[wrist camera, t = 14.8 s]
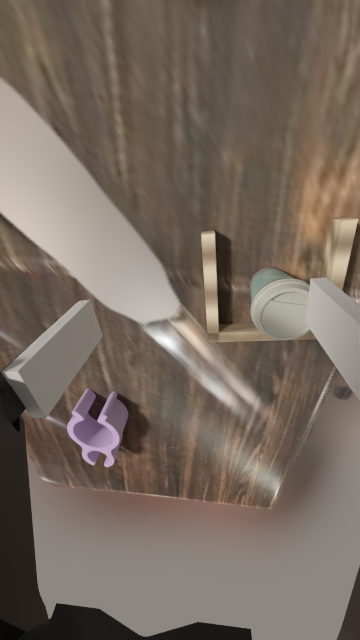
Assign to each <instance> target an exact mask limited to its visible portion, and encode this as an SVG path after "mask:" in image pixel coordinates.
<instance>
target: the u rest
mask: <svg viewBox="0 0 360 640" xmlns="http://www.w3.org/2000/svg"><path fill="white" fill-rule="evenodd" d="M357 222H358V219H354V218H349V217H341V218H331V223H330V229H329V234H328V240H327V246H326V252H325V257H324V263H323V269H322V275H321V278H325V277H326V278H327V279H328V280H330V281H331V282H332V283H333V284H334V285H336V286H337V287H338V288H339V289H341V290H342V289H343V285H344V280H345V276H346V272H347V267H348V263H349V258H350V254H351V249H352V245H353V240H354V236H355V231H356V227H357ZM201 238H202V254H203V269H204V285H205V300H206V316H207V331H208V342H239V341H271V340H277V339H273V338H271V337H269V336H267V335H265V334H264V333H262V332H261V331H260V330H259V329H258V328H257V327H256V326H255V324H254V323H231V324H219V323H218V298H217V272H216V246H215V230H211V231H202V233H201ZM304 339H316V337H315V336H314V334H313V333H312V331H311V330H309V331H308V332H307V333H306V334H304V335H302V336H300V337H298V338H295V339H291V340H304Z"/></svg>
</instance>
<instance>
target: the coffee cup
mask: <svg viewBox="0 0 360 640" xmlns="http://www.w3.org/2000/svg"><path fill="white" fill-rule="evenodd" d="M309 287H310V285H309V284H307V283H306V282H304V281H301V280H298V279H294V278H293V277H291V276H289V275H288V274H286V273H284V272H283V271H281V270H279V269H277V268H274V267H266V268H263V269H261V270H259V271H258V272H256V273H255V274H254V276H253V277H252V279H251V283H250V289H251V300H252V306H251V318H252V321H253V323H254V324H255V326H256V327H257V328H258V329H259V330H260V331H261V332H262V333H264V334H265V335H267V336H269V337H271V338H273V339H277V340H291V339H295V338H298V337H300V336H302V335H304V334H306V333H307V332H308V331H309V330H310V329H309V327H308V326H307V324H306V323H305V318H306V311H307V303H308V295H309Z"/></svg>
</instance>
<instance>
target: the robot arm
mask: <svg viewBox="0 0 360 640" xmlns="http://www.w3.org/2000/svg"><path fill="white" fill-rule="evenodd" d="M305 323H306V324H307V326H308V327H309V329H310V330H311V331H312V333H313V334H314V336H315V337H316V339H317V340H318V342H319V343H320V344H321V346H322V347H323V349H324V350H325V352H326V353H327V355H328V356H329V357H330V359H331V360H332V362H333V363H334V365H335V366H336V368H337V369H338V370H339V372H340V373H341V375H342V376H343V378H344V379H345V381H346V382H347V383H348V385H349V386H350V388H351V389H352V391H353V392H354V394H355V395H356V396H357V398H358V399H359V401H360V305H359V304H358V303H357V302H356V301H354V300H353V299H352V298H351V297H349V296H348V295H347V294H346V293H344V292H343V291H342V290H341V289H339V288H338V287H337V286H336V285H334V284H333V283H332V282H331V281H330V280H328V279H327V278H326V277H325V278H314V279H310V287H309V295H308V303H307V311H306V318H305ZM102 337H103V335H102V332H101V329H100V327H99V324H98V321H97V318H96V316H95V313H94V310H93V307H92V305H91V302H90V300H85V301H78V302H77V303H76V304H75V305H74V306H73V307H72V308H71V309H70V310H69V311H67V312H66V313H65V314H64V315H63V316H62V317H61V318H60V319H59V320H58V321H57V322H55V323H54V324H53V325H52V326H51V327H50V328H49V329H48V330H47V331H46V332H44V333H43V334H42V335H41V336H40V337H39V338H38V339H37V340H36V341H35V342H33V343H32V344H31V345H30V346H29V347H27V348H26V349H25V350H24V351H23V352H22V353H20V355H18V356H17V357H16V358H15V359H14V361H12V362H11V363H9V364H8V365H7V366H6V367H5V368H4V369H3V370H2V371H1V372H0V640H252V637H251V629H246V628H239V627H231V626H224V625H216V624H208V623H201V622H197V623H193V624H190V625H187V626H184V627H180V628H177V629H173V630H170V631H166V632H163V633H159V634H156V635H153V636H149V637H143V636H140V635H138V634H137V633H135V632H134V631H132V630H131V629H129V628H128V627H126V626H124V625H123V624H122V623H120V622H118V621H117V620H115V619H114V618H112V617H111V616H109V615H108V614H106V613H105V612H103V611H102V610H100V609H96V608H88V607H81V606H73V605H66V604H58V603H57V604H56V606H55V609H54V612H53V615H52V617H51V619H48V615H47V611H46V607H45V605H44V603H43V601H42V598H41V596H40V593H39V590H38V584H37V573H36V561H35V549H34V536H33V525H32V512H31V500H30V488H29V476H28V464H27V452H26V440H25V427H24V420H23V418H22V417H21V414H22V412H23V411H24V410H25V409H26V410H27V411H28V413H29V414H30V416H31V417H32V418H47V416H48V415H49V413H50V412H51V410H52V409H53V408H54V406H55V405H56V403H57V402H58V400H59V399H60V397H61V396H62V394H63V393H64V392H65V390H66V389H67V387H68V386H69V384H70V383H71V381H72V380H73V379H74V377H75V376H76V374H77V373H78V371H79V370H80V368H81V367H82V366H83V364H84V363H85V361H86V360H87V358H88V357H89V355H90V354H91V352H92V351H93V350H94V348H95V347H96V345H97V344H98V342H99V341H100V339H101V338H102ZM337 640H360V567H359V571H358V574H357V577H356V581H355V584H354V587H353V590H352V594H351V597H350V601H349V604H348V608H347V611H346V614H345V618H344V621H343V624H342V627H341V630H340V633H339V635H338V638H337Z"/></svg>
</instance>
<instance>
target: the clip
mask: <svg viewBox="0 0 360 640" xmlns="http://www.w3.org/2000/svg"><path fill="white" fill-rule="evenodd" d="M117 395H118V394H117V393H116V392H112V393H111V394H110V395H109V397H108V399H107V401H106V403H105V405H104V407H103V409H102V411H101V413H100V415H99V418H98V420H95V419H94V418H92V417H91V416H90V415H89V413H88V411H89V409H90V407H91V406H92V404H93V402H94V400H95V398H96V395H95V393H94V392H92V391H91V390H90V389H86V390H85V392H84V393H83V395H82V397H81V398H80V400H79V402H78V403H77V405H76V406H75V408H74V410H73V411H72V414H73V417H72V418H71V420H70V421H69V423H68V426H67V430H68V433H69V435H70V437H71V438H72V439H73V440H74V441H75V442H76V443H78V444H79V445H80V446H81V447H82V449H83V451H82V456H83V458H84V460H85V461H87V462H88V463H90V464H91V465H94V464H95V462H96V460H97V457H98V455H99V453H100V452H102V453H104V454H106V455H107V458H106V461H105V463H104V466H105V467H109V466H111V465H113V463H114V461H115V458H116V455H117V452H118V450H119V447H120V444H121V441H122V438H123V434H122V433H123V430H124V427H125V425H126V422H127V419H128V411H127V408H126V407H125V405H124V404H123V403H122V402H121V401H119V400H118V399H117V398H116V397H117Z"/></svg>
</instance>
